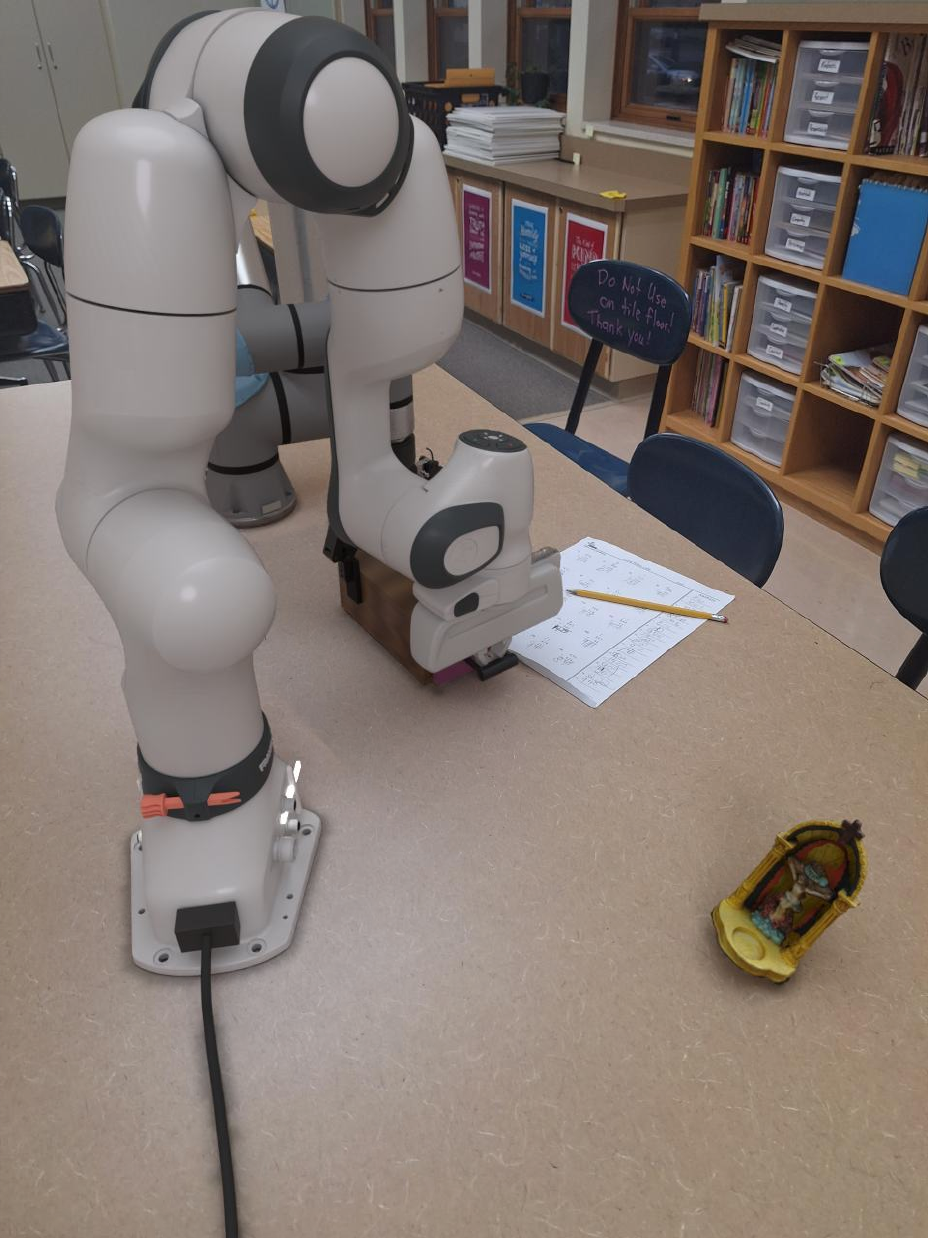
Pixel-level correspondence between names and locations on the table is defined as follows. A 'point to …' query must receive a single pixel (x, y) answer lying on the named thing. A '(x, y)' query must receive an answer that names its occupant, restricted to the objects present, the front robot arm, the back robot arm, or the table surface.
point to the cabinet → (385, 609)
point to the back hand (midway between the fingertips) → (393, 584)
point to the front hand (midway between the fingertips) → (489, 667)
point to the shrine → (792, 897)
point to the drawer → (476, 668)
